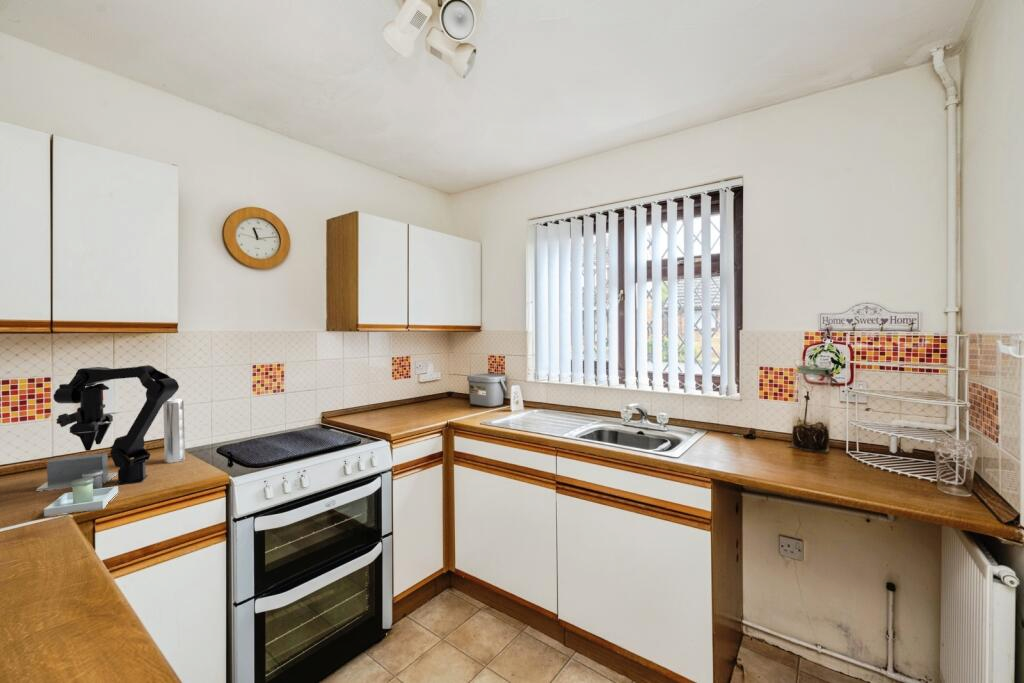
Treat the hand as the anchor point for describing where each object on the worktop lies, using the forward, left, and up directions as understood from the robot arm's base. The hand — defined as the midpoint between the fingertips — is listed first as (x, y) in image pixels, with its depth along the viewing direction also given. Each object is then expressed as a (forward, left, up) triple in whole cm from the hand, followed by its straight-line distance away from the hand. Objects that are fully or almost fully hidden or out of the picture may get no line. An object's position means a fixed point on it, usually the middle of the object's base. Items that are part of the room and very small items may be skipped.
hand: (93, 447), depth 152 cm
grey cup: (-4, +15, -12) cm, 20 cm away
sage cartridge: (-5, +26, -11) cm, 29 cm away
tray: (-5, +26, -12) cm, 29 cm away
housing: (+4, 0, -12) cm, 13 cm away
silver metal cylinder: (-20, -16, -12) cm, 28 cm away
